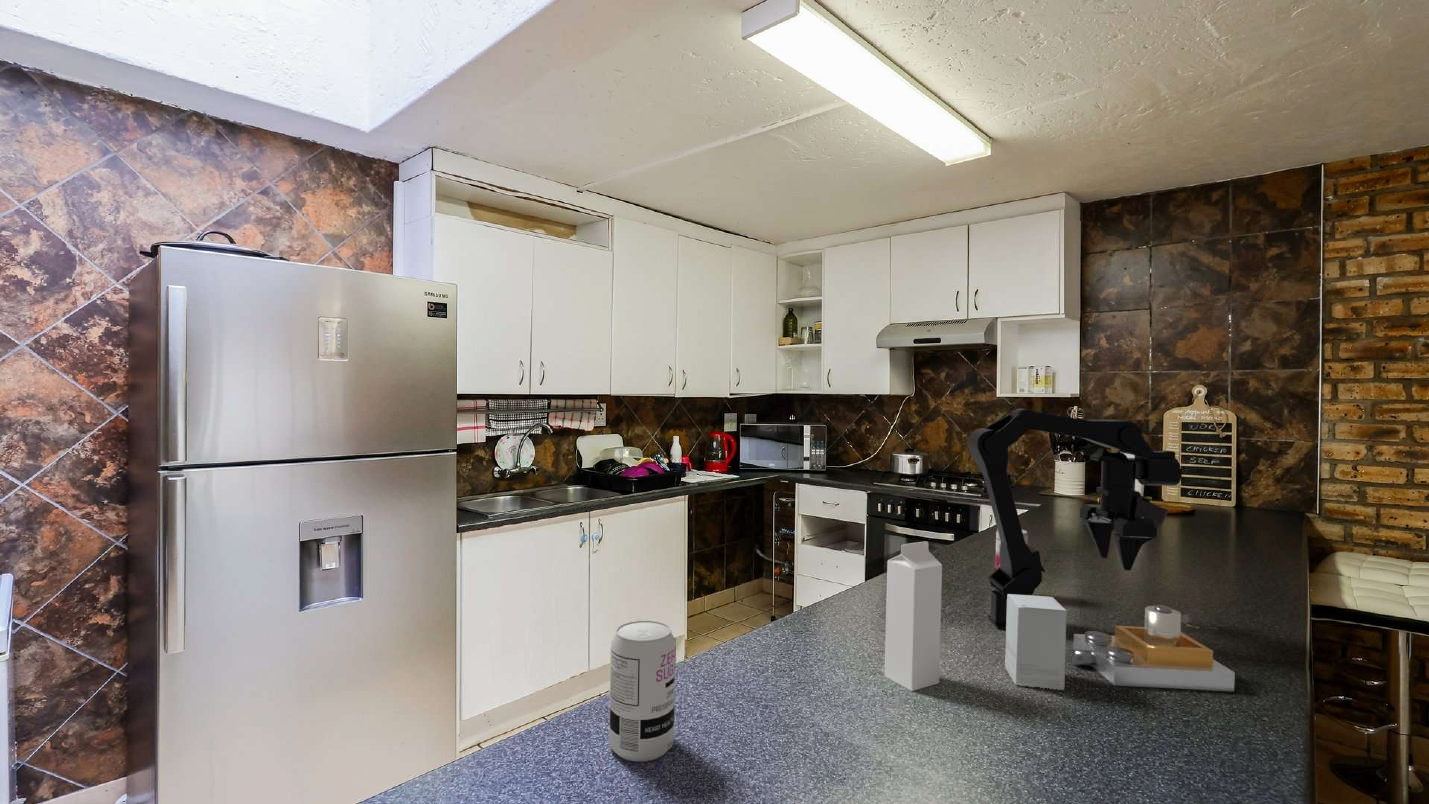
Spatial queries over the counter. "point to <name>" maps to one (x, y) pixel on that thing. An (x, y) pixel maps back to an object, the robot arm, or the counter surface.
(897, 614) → the milk
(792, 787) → the counter surface
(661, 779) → the counter surface
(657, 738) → the supplement can
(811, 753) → the counter surface
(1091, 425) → the robot arm
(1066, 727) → the counter surface
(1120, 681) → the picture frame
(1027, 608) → the supplement box
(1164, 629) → the spout can
